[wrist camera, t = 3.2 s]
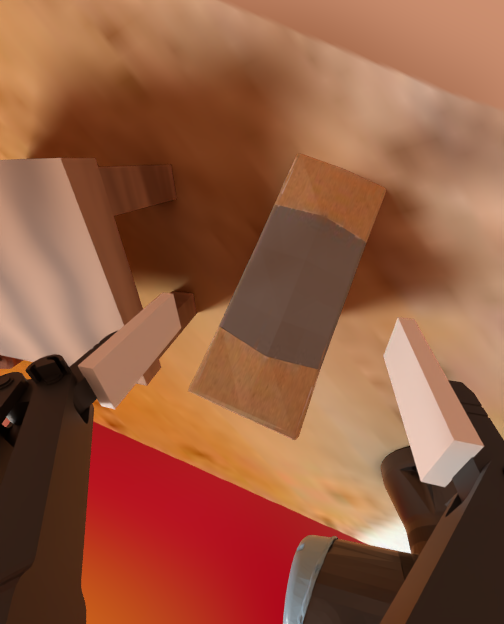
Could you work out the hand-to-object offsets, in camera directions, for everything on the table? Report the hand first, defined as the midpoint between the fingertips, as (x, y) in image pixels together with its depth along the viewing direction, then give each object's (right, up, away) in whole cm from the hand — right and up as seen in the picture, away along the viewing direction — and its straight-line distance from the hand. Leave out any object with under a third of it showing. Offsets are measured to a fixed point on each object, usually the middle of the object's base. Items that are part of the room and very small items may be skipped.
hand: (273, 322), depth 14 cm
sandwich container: (+4, +7, +10) cm, 13 cm away
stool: (-18, +9, +15) cm, 25 cm away
